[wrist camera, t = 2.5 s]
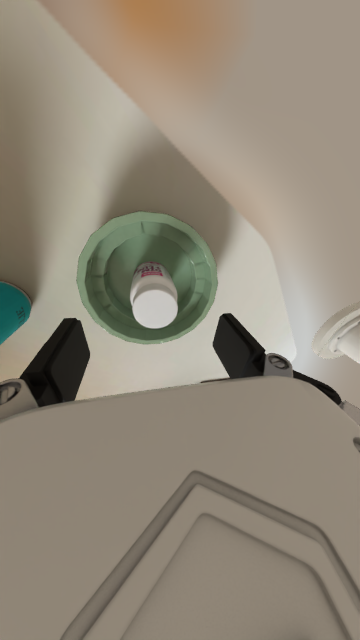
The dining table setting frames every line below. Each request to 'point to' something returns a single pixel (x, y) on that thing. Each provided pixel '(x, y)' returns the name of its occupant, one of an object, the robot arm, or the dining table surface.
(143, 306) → the pill bottle
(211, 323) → the dining table surface
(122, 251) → the bowl
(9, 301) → the beverage can
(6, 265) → the dining table surface
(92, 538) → the robot arm
